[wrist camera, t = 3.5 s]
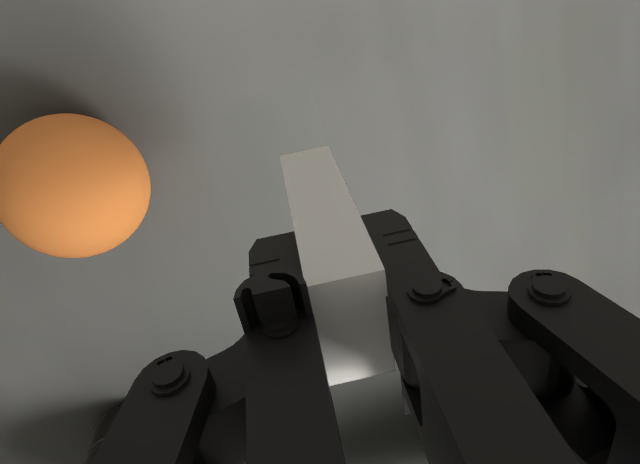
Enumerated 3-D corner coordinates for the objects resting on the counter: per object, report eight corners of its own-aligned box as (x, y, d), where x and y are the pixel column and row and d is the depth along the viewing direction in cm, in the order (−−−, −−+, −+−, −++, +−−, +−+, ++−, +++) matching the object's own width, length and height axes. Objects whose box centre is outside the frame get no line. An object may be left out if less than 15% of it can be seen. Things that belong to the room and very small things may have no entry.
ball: (134, 85, 21) (98, 124, 16) (176, 203, 24) (158, 268, 19) (-1, 112, 21) (-82, 161, 16) (59, 227, 24) (8, 300, 19)
